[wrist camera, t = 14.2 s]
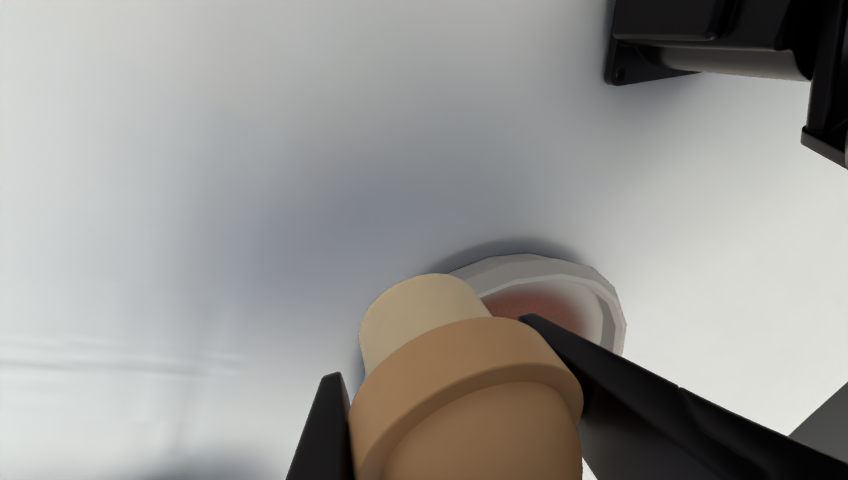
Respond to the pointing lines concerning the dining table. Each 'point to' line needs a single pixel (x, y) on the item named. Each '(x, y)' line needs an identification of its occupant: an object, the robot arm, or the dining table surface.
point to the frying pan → (549, 295)
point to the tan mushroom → (459, 392)
